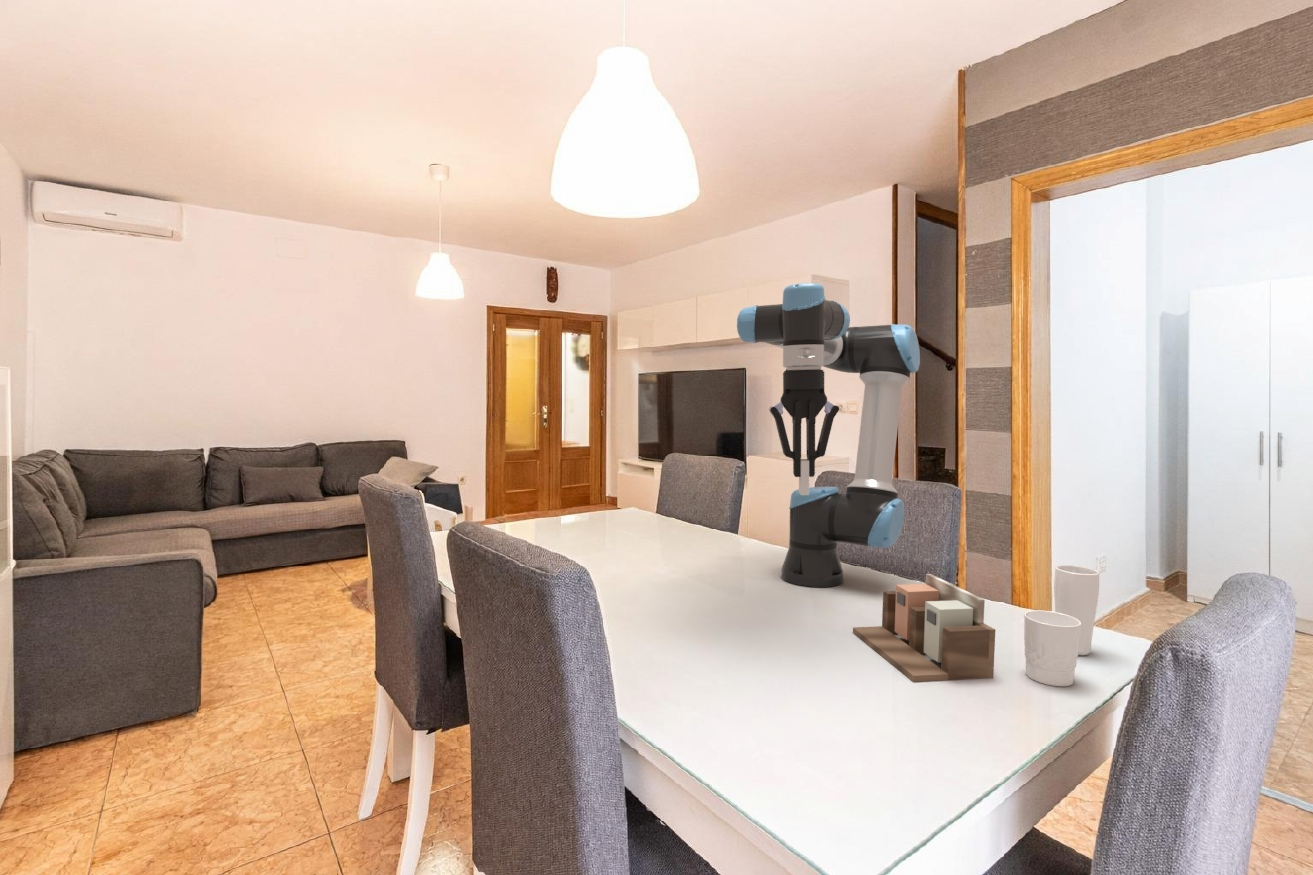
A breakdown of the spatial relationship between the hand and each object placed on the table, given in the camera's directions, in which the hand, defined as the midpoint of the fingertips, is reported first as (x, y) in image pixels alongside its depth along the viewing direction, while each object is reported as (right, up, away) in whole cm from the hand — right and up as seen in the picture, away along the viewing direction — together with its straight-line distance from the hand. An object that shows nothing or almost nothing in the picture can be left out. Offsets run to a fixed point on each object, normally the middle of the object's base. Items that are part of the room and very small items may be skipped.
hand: (804, 493), depth 122 cm
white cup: (+36, -29, -17) cm, 49 cm away
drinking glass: (+48, -28, -5) cm, 56 cm away
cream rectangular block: (+22, -27, -12) cm, 36 cm away
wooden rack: (+18, -28, -7) cm, 34 cm away
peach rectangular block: (+20, -26, -2) cm, 33 cm away
